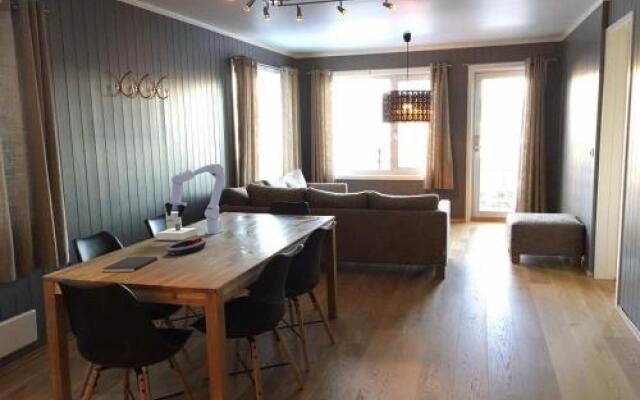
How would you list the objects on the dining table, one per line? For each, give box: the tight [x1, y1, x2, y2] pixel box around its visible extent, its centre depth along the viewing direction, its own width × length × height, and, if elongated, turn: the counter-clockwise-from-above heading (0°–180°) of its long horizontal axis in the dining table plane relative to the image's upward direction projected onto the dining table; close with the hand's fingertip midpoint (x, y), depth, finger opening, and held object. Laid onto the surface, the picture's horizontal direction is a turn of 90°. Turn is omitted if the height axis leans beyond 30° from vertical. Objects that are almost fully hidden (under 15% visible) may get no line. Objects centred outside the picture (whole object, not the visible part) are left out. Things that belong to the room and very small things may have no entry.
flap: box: [164, 223, 197, 231], centre depth 336 cm, size 8×18×4 cm, turn 69°
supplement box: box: [165, 211, 183, 230], centre depth 360 cm, size 7×7×13 cm
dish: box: [166, 236, 207, 256], centre depth 292 cm, size 16×31×5 cm, turn 158°
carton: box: [156, 229, 198, 242], centre depth 332 cm, size 16×18×4 cm
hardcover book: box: [102, 256, 158, 273], centre depth 262 cm, size 16×23×2 cm
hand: (174, 216), depth 327 cm, fingers open, 7 cm apart
